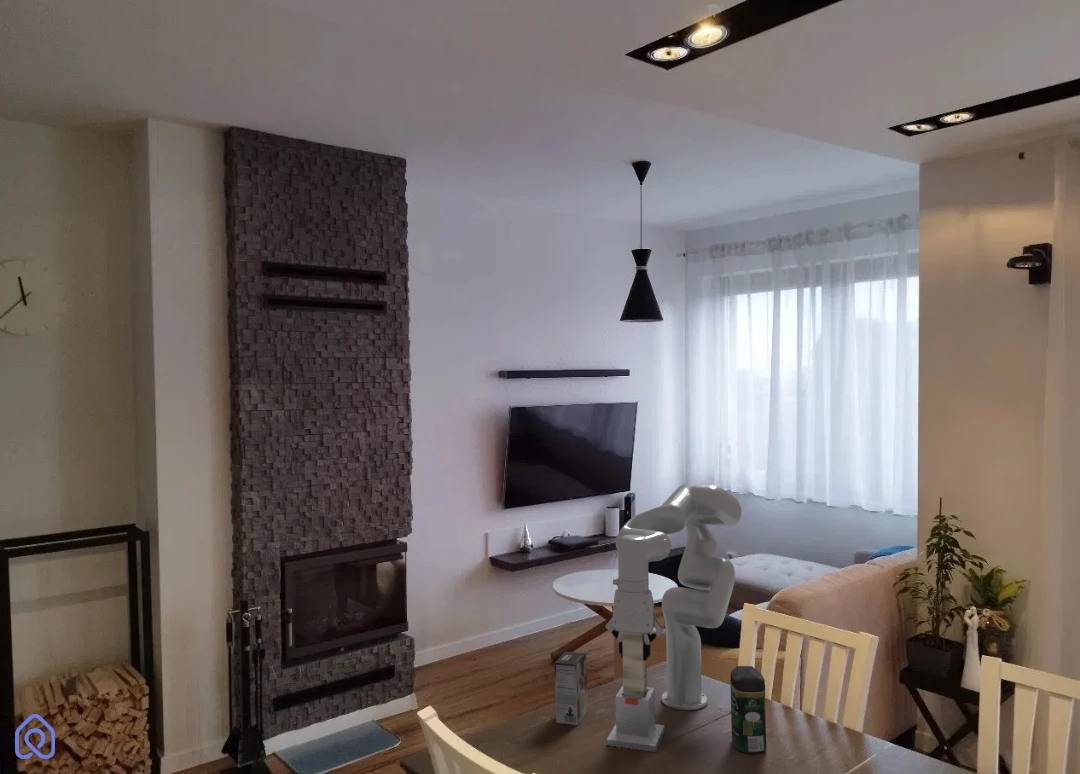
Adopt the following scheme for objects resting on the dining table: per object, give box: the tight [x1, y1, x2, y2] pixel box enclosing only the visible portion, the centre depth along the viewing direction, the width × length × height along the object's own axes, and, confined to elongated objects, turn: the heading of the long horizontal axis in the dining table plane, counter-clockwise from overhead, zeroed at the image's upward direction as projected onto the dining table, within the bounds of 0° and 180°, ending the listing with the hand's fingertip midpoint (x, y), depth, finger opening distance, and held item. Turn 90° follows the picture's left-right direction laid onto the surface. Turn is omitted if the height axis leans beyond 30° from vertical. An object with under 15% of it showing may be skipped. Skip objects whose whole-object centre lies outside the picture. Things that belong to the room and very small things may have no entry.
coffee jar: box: [729, 665, 767, 755], centre depth 189 cm, size 10×8×19 cm
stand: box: [606, 685, 665, 753], centre depth 195 cm, size 12×12×12 cm
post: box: [622, 632, 648, 698], centre depth 195 cm, size 5×5×20 cm
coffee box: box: [554, 651, 588, 726], centre depth 208 cm, size 9×6×16 cm
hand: (634, 656), depth 195 cm, fingers closed on post, 5 cm apart
